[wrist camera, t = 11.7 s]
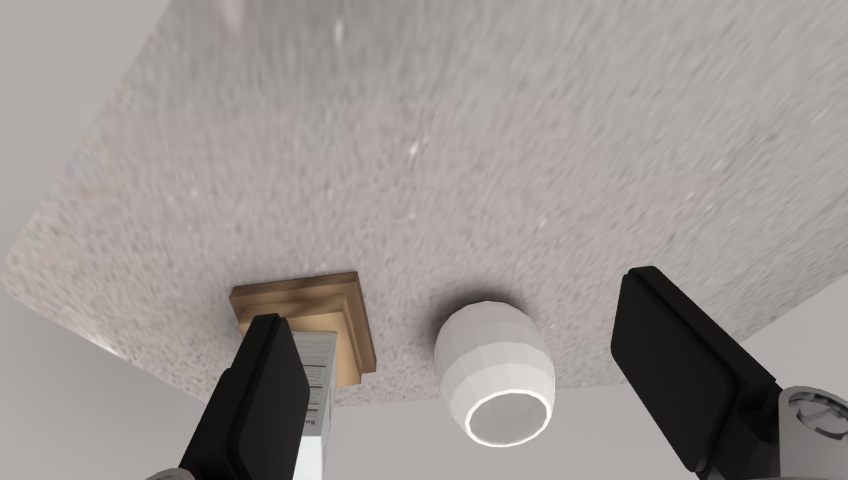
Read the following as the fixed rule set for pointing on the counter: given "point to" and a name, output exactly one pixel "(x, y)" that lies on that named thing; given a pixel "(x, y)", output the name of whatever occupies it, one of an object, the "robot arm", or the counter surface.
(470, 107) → the counter surface
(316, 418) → the supplement box
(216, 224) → the counter surface
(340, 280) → the plinth
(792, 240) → the counter surface
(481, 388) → the white vase
